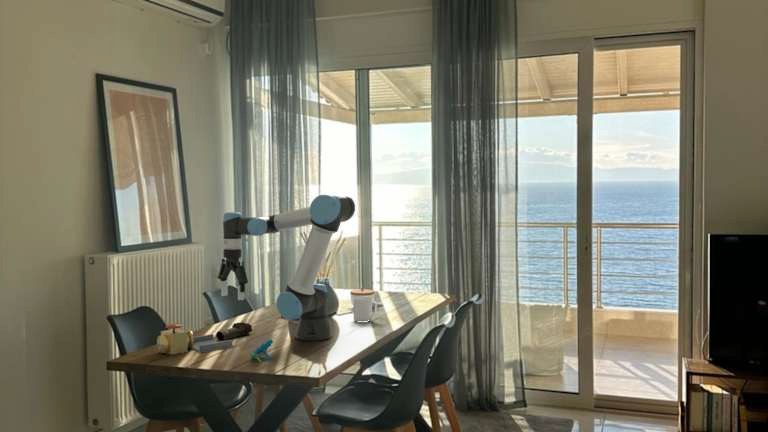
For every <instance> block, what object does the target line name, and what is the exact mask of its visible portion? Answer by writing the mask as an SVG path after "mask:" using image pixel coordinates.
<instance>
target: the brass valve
mask: <svg viewBox="0 0 768 432" xmlns="http://www.w3.org/2000/svg"><path fill="white" fill-rule="evenodd" d="M165 328H166V329H168V330H161V331H160V335H158V336H157V338H156V339H157V340H156V347H157V350H158V351H159V353H161V354H166V353H167V354H166V355H169V354H170V355H169V356H173V355H172V354H175V355H179V354H178V353H181V354H184V353H183V352H186V353H188V352H189V350H192V348H193V347H194V337H195V335H194V333H193V331H192V330H191V329H185V330H183V329H180V328H183V324H182V323H179V322H178V323H177V322H176V323H168V324H165Z"/></svg>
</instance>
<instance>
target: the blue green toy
mask: <svg viewBox="0 0 768 432" xmlns="http://www.w3.org/2000/svg"><path fill="white" fill-rule="evenodd" d="M273 343H274V342H273V339H267V340H266V341H265V343H264V342H263V343H261V344H260V346H258V347H257V348H256V349H255V350H254V351H251V353H250V358H251V359H252V360H253V359H257V361H258V362H259V363H261V362H262V359H260V357H261V356H263V355H264V356H265V357H266V358H267V360H269V361H270V360H271V359H272V357H271V356H270V355H269V354H268V353H267V351H268V348H270V347H271V346H272V344H273Z"/></svg>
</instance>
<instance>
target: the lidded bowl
mask: <svg viewBox="0 0 768 432" xmlns="http://www.w3.org/2000/svg"><path fill="white" fill-rule="evenodd" d="M360 296H366V297H372V302H373V301H375V299H374V298H375V290H373V289H367V288H366V289H364V287H361V288H360V289H359V288H358V289H352V290H350V301H351V304H352V305H353V298H354V297H360Z"/></svg>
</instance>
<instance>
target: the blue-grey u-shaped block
mask: <svg viewBox="0 0 768 432" xmlns="http://www.w3.org/2000/svg"><path fill="white" fill-rule="evenodd" d="M228 348H234V345H233V339H228V340H225V341H219V340H218V339H215V338H214V333H213V334H212V333H210V334H205V335H199V336H194V347H193V348H192V349H193V351H195V350H196V352H198V351H199V353H202V352H203V353H208V352H212V351H217V350H219V351H220V350H222V349H223V350H225V349H228ZM192 349H191V350H192Z"/></svg>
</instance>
